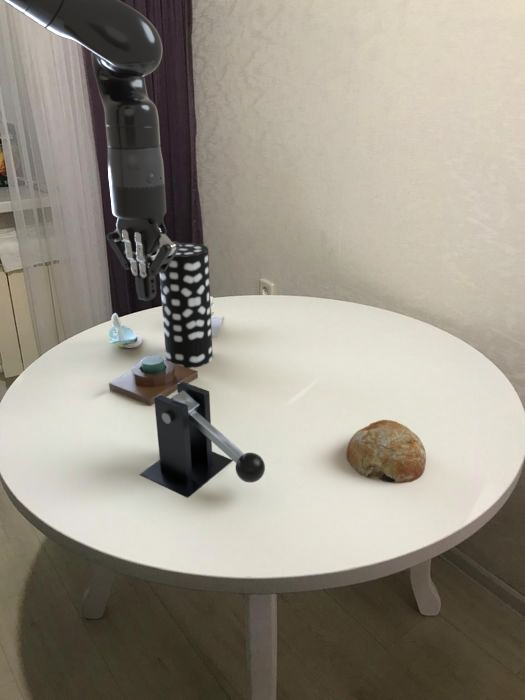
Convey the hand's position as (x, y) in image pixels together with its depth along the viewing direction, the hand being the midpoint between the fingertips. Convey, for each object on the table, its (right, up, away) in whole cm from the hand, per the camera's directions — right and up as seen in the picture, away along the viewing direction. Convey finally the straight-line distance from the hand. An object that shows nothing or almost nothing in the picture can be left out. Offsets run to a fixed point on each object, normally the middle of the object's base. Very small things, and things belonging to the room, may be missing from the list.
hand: (146, 298), depth 89 cm
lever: (+11, -19, -18) cm, 29 cm away
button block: (0, -14, +7) cm, 16 cm away
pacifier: (-8, -7, +23) cm, 25 cm away
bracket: (+8, -24, -13) cm, 28 cm away
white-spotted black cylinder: (+4, -9, +17) cm, 20 cm away
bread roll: (+33, -23, -11) cm, 42 cm away
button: (0, -11, +5) cm, 12 cm away
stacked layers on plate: (+4, -3, +30) cm, 31 cm away
